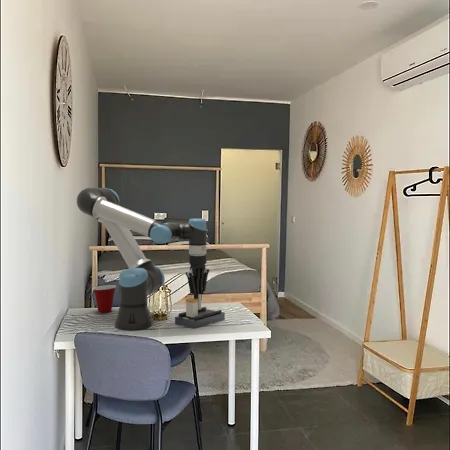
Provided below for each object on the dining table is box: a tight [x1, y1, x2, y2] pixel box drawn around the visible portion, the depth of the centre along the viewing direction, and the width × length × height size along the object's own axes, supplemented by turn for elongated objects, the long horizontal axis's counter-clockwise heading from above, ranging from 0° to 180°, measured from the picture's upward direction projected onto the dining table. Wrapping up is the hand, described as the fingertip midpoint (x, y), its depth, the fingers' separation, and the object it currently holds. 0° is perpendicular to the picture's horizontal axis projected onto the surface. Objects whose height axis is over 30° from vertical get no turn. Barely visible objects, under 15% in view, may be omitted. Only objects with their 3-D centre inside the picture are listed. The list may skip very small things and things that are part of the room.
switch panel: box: [174, 306, 226, 329], centre depth 215 cm, size 20×11×4 cm, turn 141°
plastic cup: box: [92, 284, 117, 314], centre depth 232 cm, size 11×11×12 cm
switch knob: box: [185, 297, 198, 318], centre depth 211 cm, size 3×4×7 cm
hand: (197, 308), depth 214 cm, fingers closed
